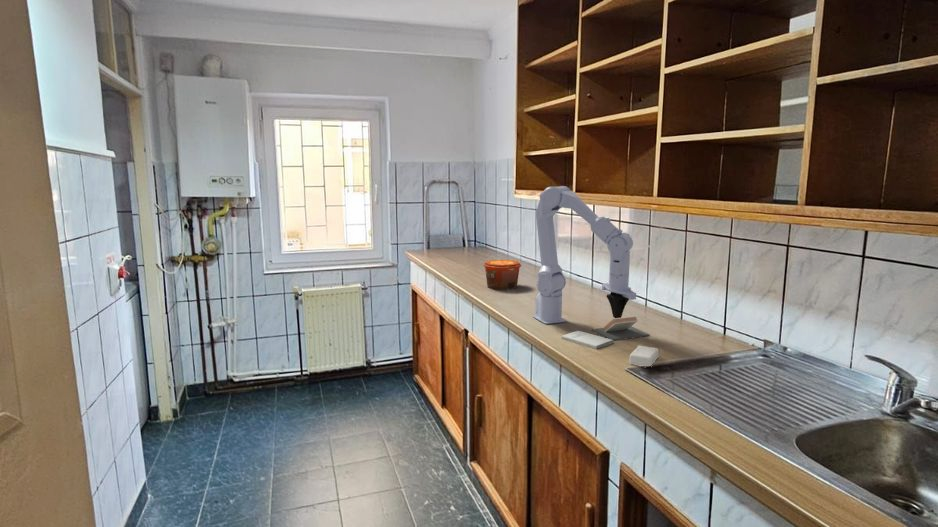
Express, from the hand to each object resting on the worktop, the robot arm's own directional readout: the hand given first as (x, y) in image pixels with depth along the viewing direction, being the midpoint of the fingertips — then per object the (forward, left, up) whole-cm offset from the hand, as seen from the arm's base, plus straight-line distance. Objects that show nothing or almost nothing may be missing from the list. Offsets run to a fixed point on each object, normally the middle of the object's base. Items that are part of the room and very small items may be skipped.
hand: (617, 317), depth 159 cm
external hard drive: (+4, -13, -5) cm, 15 cm away
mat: (+1, 0, -4) cm, 5 cm away
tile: (0, 0, -4) cm, 4 cm away
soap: (+24, -8, -5) cm, 25 cm away
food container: (-71, -8, -5) cm, 72 cm away
